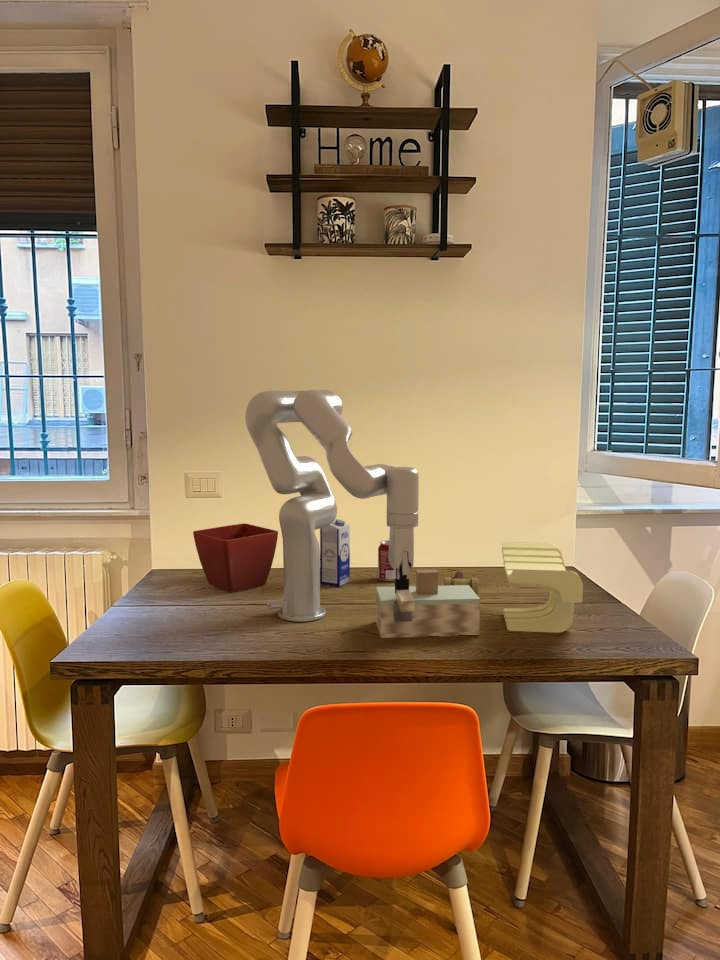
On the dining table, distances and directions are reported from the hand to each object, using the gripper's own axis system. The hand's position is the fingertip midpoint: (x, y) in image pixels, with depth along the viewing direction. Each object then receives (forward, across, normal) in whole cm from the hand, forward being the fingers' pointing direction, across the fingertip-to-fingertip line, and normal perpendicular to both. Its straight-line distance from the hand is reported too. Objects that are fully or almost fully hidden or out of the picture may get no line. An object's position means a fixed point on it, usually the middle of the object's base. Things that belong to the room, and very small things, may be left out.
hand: (401, 594), depth 170 cm
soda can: (+10, -51, +3) cm, 52 cm away
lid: (+2, -5, +7) cm, 9 cm away
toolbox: (+10, -3, +7) cm, 13 cm away
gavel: (+11, -44, +24) cm, 52 cm away
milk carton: (+10, -48, -14) cm, 51 cm away
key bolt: (+1, +6, 0) cm, 6 cm away
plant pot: (+10, -48, -44) cm, 66 cm away
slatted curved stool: (+11, -7, +36) cm, 38 cm away
